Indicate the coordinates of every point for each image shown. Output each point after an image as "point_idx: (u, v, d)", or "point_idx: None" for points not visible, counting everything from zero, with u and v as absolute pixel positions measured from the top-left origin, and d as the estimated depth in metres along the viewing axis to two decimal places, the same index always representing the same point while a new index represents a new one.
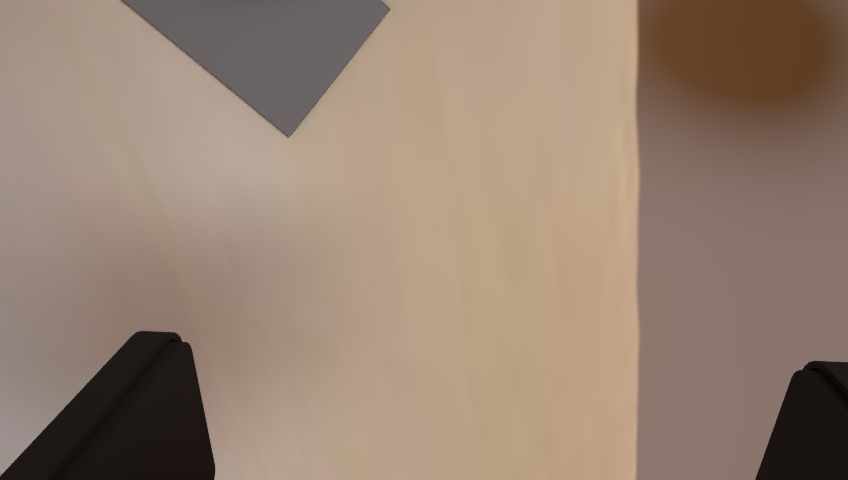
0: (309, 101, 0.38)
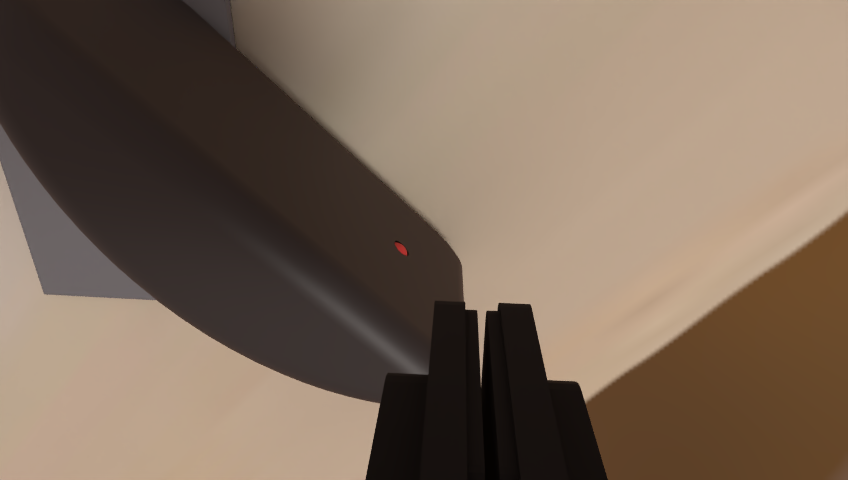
0: (100, 290, 0.27)
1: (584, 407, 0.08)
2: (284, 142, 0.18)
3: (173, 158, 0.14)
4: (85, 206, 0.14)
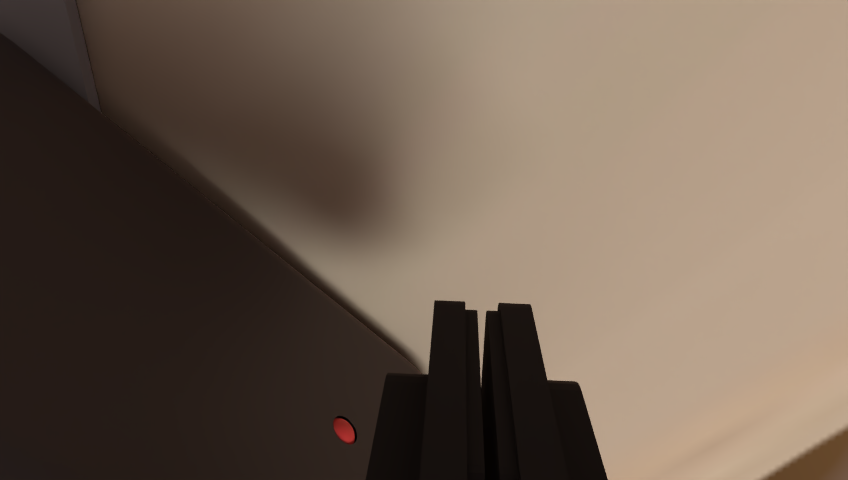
0: None
1: (584, 407, 0.08)
2: (141, 273, 0.11)
3: None
4: None
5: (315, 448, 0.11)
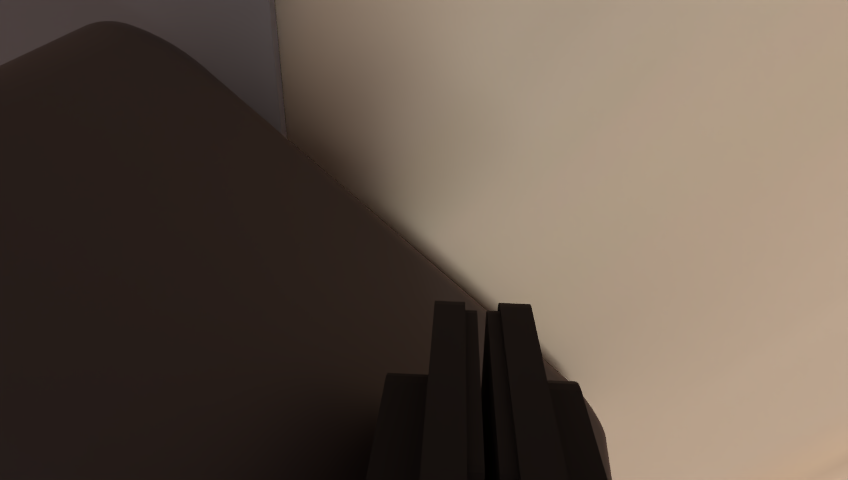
0: None
1: (584, 407, 0.08)
2: (357, 352, 0.10)
3: None
4: None
5: None
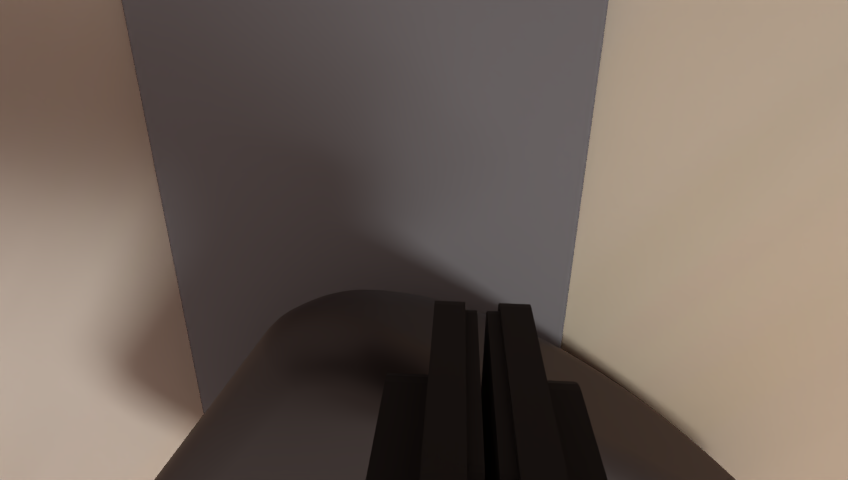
0: None
1: (584, 407, 0.08)
2: None
3: None
4: None
5: None
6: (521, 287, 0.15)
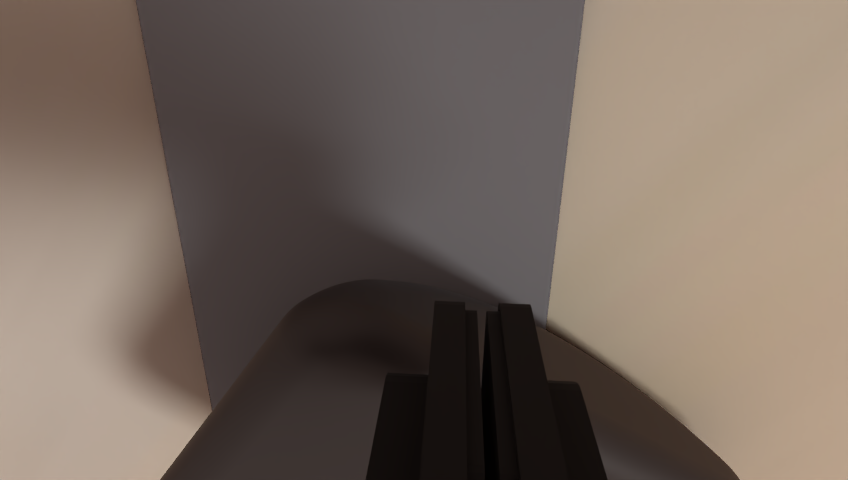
0: None
1: (584, 407, 0.08)
2: None
3: None
4: None
5: None
6: (508, 273, 0.16)
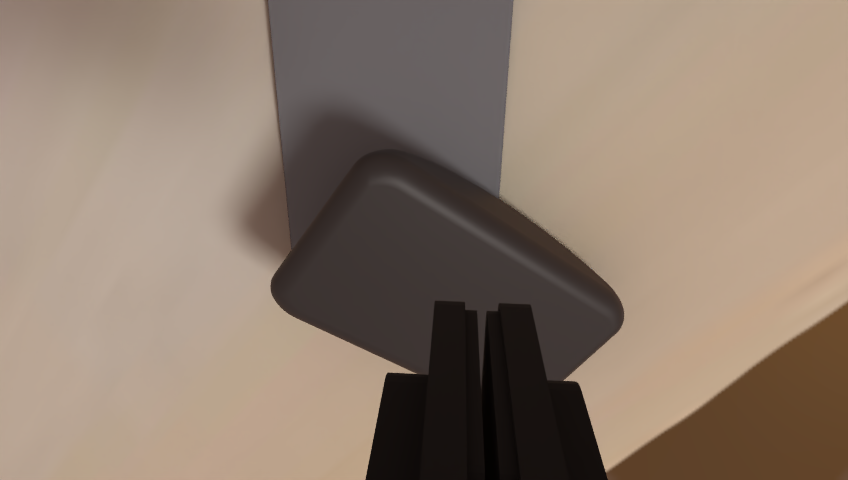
0: None
1: (584, 407, 0.08)
2: None
3: None
4: None
5: None
6: (475, 164, 0.28)
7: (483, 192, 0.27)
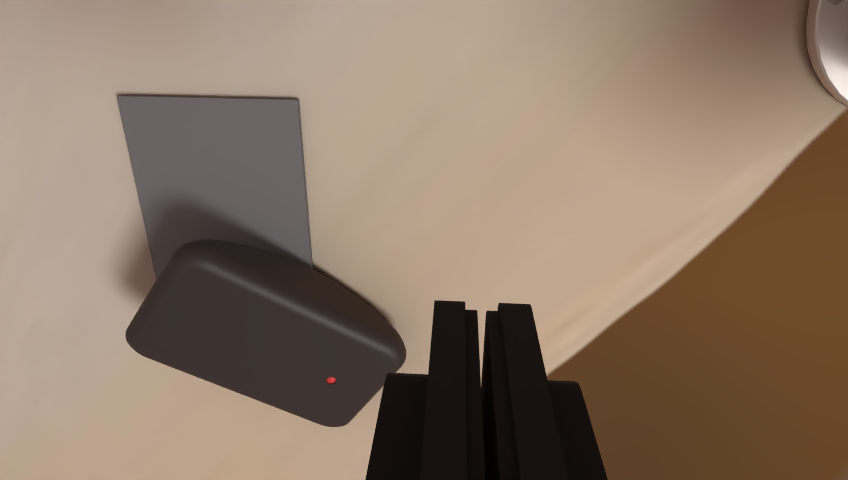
0: None
1: (584, 407, 0.08)
2: (260, 348, 0.35)
3: (204, 379, 0.37)
4: None
5: (315, 386, 0.37)
6: (289, 240, 0.37)
7: (289, 264, 0.36)
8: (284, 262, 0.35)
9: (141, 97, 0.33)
